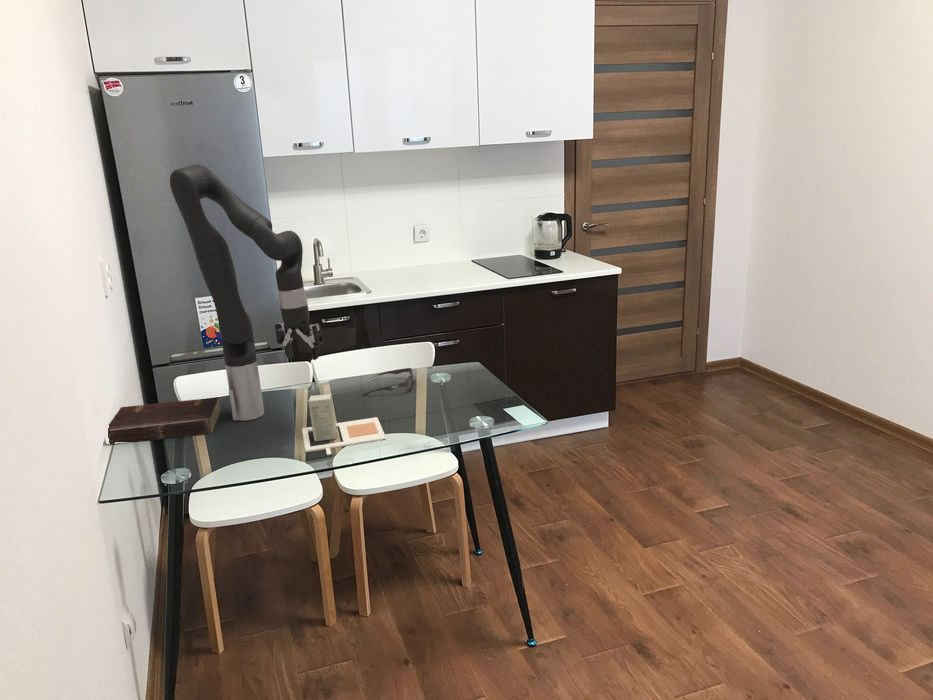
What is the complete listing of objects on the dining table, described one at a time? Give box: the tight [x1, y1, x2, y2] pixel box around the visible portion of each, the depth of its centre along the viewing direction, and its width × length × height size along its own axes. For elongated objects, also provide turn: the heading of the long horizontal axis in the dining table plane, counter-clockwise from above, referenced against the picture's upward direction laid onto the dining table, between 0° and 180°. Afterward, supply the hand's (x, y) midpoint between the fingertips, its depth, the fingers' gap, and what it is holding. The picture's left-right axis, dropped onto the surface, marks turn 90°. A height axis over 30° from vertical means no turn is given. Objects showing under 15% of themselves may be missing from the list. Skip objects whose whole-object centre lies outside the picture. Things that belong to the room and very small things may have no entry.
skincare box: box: [307, 393, 338, 442], centre depth 208 cm, size 6×4×12 cm
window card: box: [301, 416, 386, 456], centre depth 209 cm, size 22×20×1 cm
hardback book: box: [108, 396, 221, 446], centre depth 222 cm, size 29×19×5 cm, turn 100°
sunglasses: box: [361, 367, 414, 397], centre depth 246 cm, size 16×17×5 cm
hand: (303, 358), depth 213 cm, fingers open, 8 cm apart
